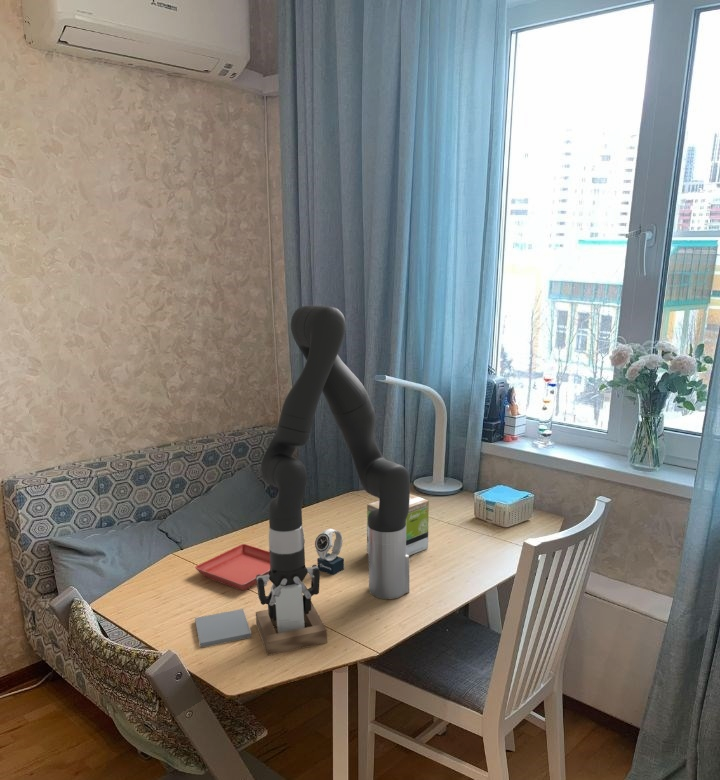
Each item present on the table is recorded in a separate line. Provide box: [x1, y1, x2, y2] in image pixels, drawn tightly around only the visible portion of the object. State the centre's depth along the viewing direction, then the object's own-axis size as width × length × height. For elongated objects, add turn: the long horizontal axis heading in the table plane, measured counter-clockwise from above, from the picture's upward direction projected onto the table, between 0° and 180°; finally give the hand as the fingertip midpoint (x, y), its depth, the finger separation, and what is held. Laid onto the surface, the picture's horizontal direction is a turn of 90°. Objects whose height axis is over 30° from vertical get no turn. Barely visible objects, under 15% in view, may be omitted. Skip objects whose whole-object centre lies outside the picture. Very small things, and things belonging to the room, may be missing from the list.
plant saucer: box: [194, 543, 270, 591], centre depth 177 cm, size 18×18×3 cm
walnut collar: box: [255, 601, 328, 656], centre depth 148 cm, size 13×13×3 cm
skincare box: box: [274, 584, 306, 633], centre depth 147 cm, size 6×4×12 cm
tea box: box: [366, 493, 430, 557], centre depth 186 cm, size 15×10×15 cm, turn 131°
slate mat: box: [194, 608, 252, 648], centre depth 150 cm, size 11×11×1 cm
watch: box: [314, 528, 345, 576], centre depth 176 cm, size 6×8×11 cm
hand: (290, 615), depth 147 cm, fingers closed on skincare box, 6 cm apart
